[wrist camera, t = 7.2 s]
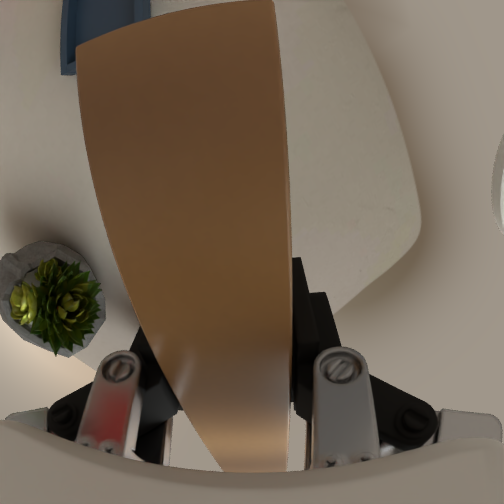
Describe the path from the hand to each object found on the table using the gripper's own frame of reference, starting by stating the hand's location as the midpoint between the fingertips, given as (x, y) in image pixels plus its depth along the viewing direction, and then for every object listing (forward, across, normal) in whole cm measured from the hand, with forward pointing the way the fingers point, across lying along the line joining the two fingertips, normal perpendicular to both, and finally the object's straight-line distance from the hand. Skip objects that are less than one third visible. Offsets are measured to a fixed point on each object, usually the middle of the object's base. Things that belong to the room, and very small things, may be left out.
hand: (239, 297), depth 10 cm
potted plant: (+16, +22, +7) cm, 28 cm away
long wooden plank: (0, 0, 0) cm, 0 cm away
